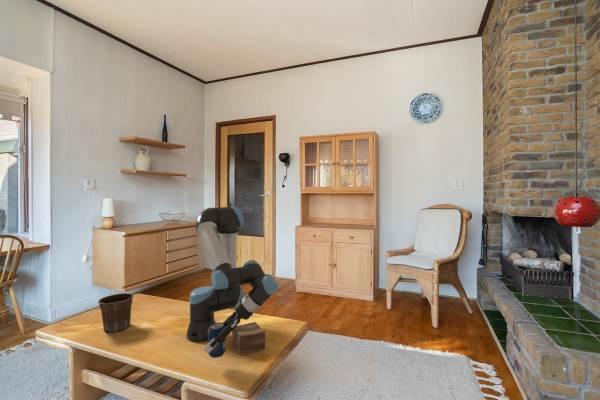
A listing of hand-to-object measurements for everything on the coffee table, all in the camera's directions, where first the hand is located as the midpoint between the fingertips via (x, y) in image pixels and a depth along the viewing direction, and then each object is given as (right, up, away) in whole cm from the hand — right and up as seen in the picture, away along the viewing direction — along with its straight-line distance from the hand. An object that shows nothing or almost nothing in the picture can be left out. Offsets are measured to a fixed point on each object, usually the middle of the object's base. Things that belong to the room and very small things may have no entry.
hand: (208, 345), depth 123 cm
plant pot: (-61, -9, +38) cm, 72 cm away
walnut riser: (+14, -8, +18) cm, 24 cm away
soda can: (+4, -4, 0) cm, 5 cm away
